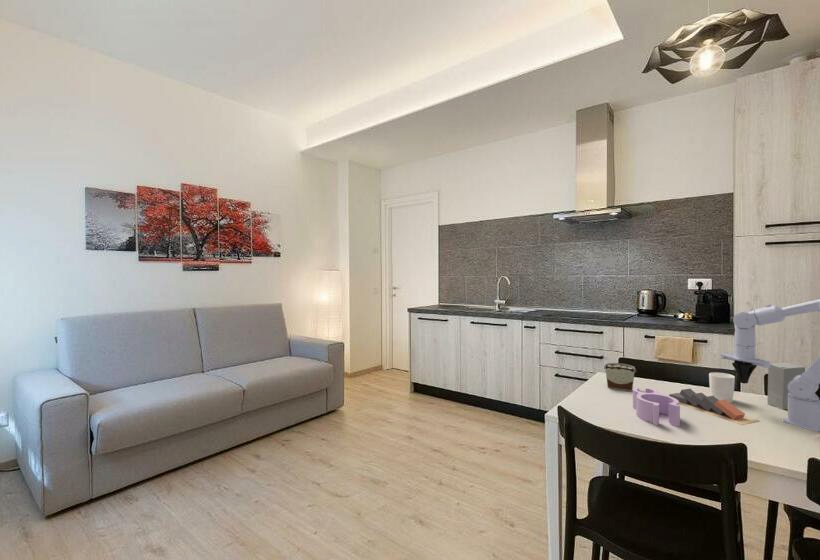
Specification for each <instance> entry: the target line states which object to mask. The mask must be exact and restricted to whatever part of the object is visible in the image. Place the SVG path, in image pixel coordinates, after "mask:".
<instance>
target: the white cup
mask: <svg viewBox="0 0 820 560" xmlns="http://www.w3.org/2000/svg"><path fill="white" fill-rule="evenodd" d="M708 379H709V380H708V383H709V392H710V395H709V396H714V397H716V398H717V399H718V400H719V401H720V400H725V399H726V400H727V401H728V402H730V403H731V404H732V403H733V401H734V393H735V379H736V376H735V375H733V374H730V373H726V372H725V373H724V372H709V373H708Z"/></svg>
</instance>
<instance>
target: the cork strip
mask: <svg viewBox="0 0 820 560" xmlns="http://www.w3.org/2000/svg"><path fill="white" fill-rule="evenodd" d="M679 405H680V406H683V407H687V408H690V409H693V410H695V411H697V412H701V413H705V414H707V415H711V416H713V417H717V418H720V419H723V420H726V421H728V422H732V423H734V424H738V425H740V426H744V425H749V424H754V423H758V422H760V420H758V419H755V418H751V417H748V416H745V415H744V417H743V418H740V419H735V420H733V419H732V418H731V417H729V416H728V415H727V414H724V415H719V414H718V413H717V412H715V411H714V410H713V411H707V410H706V409H704V408H703V407H702V406H699V407H695V406H693V405H692V404H684V403H681V402H679Z"/></svg>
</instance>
